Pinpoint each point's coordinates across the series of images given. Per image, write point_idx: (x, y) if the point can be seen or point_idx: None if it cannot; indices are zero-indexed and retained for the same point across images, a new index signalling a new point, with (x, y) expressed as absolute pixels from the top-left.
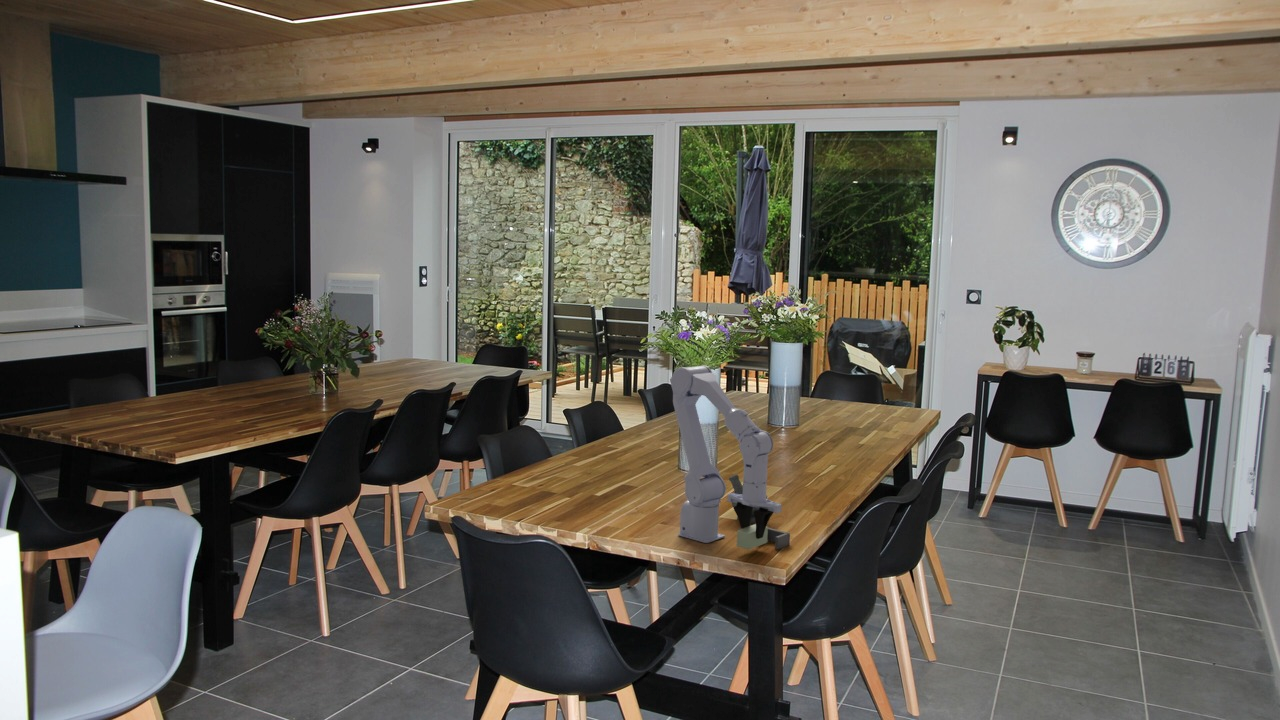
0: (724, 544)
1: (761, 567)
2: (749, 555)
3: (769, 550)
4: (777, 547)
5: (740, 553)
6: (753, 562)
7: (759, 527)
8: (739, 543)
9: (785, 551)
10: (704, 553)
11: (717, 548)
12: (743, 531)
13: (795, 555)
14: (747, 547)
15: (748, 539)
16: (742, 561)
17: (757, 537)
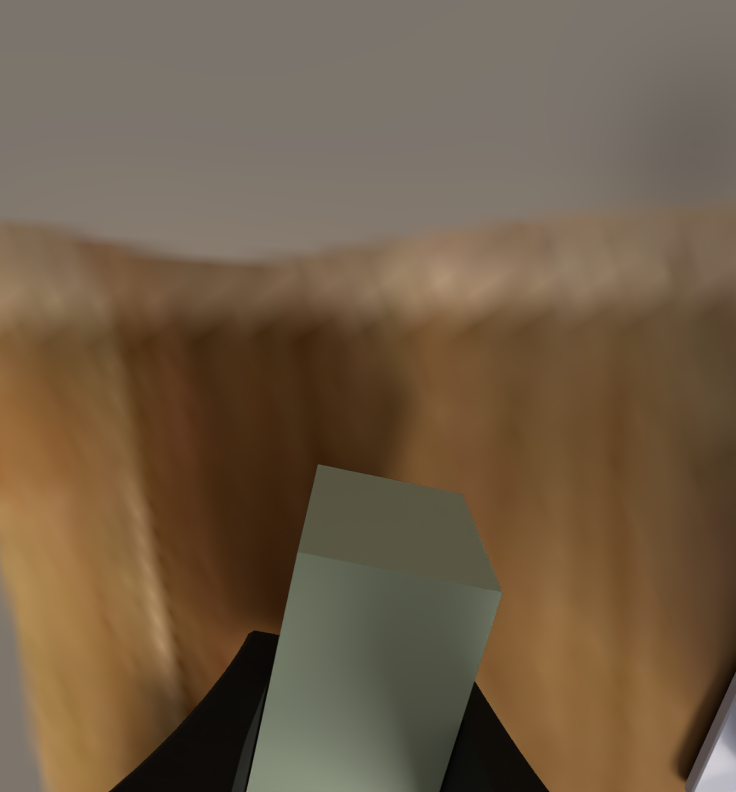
0: (630, 642)
1: (109, 249)
2: None
3: None
4: None
5: None
6: (232, 342)
7: (185, 723)
8: (436, 505)
9: (140, 733)
10: (721, 328)
11: (653, 520)
12: (406, 589)
13: (32, 689)
14: (332, 475)
15: (316, 511)
16: (328, 312)
17: (260, 637)
